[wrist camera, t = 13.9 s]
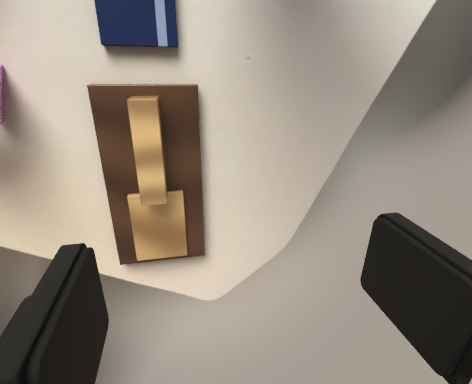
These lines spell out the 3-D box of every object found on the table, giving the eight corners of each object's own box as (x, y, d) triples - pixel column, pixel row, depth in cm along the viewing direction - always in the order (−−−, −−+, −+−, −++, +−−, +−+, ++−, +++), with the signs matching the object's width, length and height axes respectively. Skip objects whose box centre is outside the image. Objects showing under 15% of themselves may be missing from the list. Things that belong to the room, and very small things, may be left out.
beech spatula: (112, 96, 32) (105, 99, 29) (176, 95, 34) (176, 98, 30) (137, 258, 41) (134, 276, 37) (187, 252, 42) (188, 269, 39)
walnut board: (91, 84, 33) (87, 85, 31) (196, 84, 35) (197, 85, 34) (122, 257, 43) (120, 265, 41) (203, 248, 45) (204, 255, 43)
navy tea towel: (89, -45, 29) (86, -50, 27) (172, -39, 30) (172, -43, 29) (103, 45, 32) (101, 44, 31) (177, 47, 33) (177, 46, 32)
